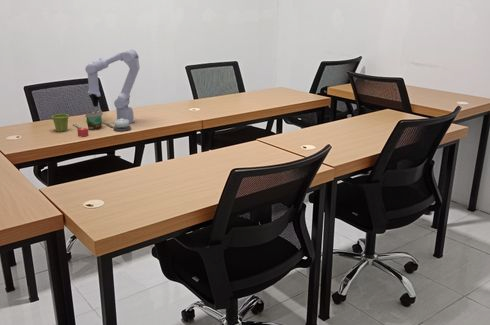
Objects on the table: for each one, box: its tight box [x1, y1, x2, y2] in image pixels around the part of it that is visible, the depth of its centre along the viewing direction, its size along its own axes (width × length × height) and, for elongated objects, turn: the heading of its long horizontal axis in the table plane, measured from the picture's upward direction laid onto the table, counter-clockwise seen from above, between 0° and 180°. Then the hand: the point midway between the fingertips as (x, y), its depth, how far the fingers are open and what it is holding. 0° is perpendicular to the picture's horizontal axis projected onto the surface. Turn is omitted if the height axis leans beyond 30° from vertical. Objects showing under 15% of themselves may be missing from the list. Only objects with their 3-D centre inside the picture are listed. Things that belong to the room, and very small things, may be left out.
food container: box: [85, 108, 103, 131], centre depth 287 cm, size 12×6×10 cm, turn 162°
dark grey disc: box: [112, 125, 132, 133], centre depth 287 cm, size 10×10×1 cm
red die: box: [76, 127, 90, 138], centre depth 273 cm, size 4×4×4 cm
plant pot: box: [50, 113, 70, 133], centre depth 283 cm, size 9×9×9 cm
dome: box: [114, 118, 130, 127], centre depth 286 cm, size 8×8×4 cm
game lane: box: [72, 120, 115, 129], centre depth 293 cm, size 18×20×1 cm
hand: (95, 106), depth 301 cm, fingers closed
